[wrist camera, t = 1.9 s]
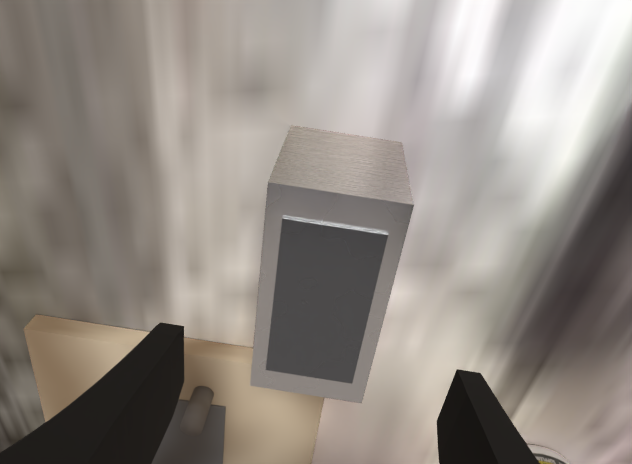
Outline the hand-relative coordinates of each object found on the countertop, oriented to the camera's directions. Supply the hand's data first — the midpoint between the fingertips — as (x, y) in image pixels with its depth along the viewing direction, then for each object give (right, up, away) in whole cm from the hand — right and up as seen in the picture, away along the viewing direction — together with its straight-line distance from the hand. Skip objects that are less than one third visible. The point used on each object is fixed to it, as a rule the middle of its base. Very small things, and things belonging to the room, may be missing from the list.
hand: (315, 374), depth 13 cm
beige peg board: (-7, -8, +14) cm, 17 cm away
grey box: (+1, +4, +7) cm, 8 cm away
